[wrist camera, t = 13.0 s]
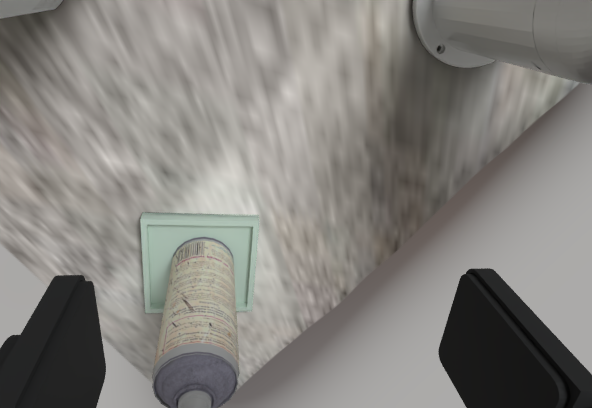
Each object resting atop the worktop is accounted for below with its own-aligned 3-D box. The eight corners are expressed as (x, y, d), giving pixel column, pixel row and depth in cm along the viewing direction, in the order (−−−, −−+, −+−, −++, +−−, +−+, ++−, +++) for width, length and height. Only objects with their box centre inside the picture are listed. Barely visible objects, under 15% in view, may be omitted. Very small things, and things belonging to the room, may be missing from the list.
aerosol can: (159, 268, 48) (124, 430, 31) (196, 225, 47) (183, 371, 29) (209, 297, 51) (203, 460, 34) (246, 257, 50) (260, 408, 32)
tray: (258, 215, 48) (259, 221, 47) (251, 303, 53) (251, 311, 52) (142, 212, 46) (140, 219, 45) (147, 304, 51) (145, 313, 50)
